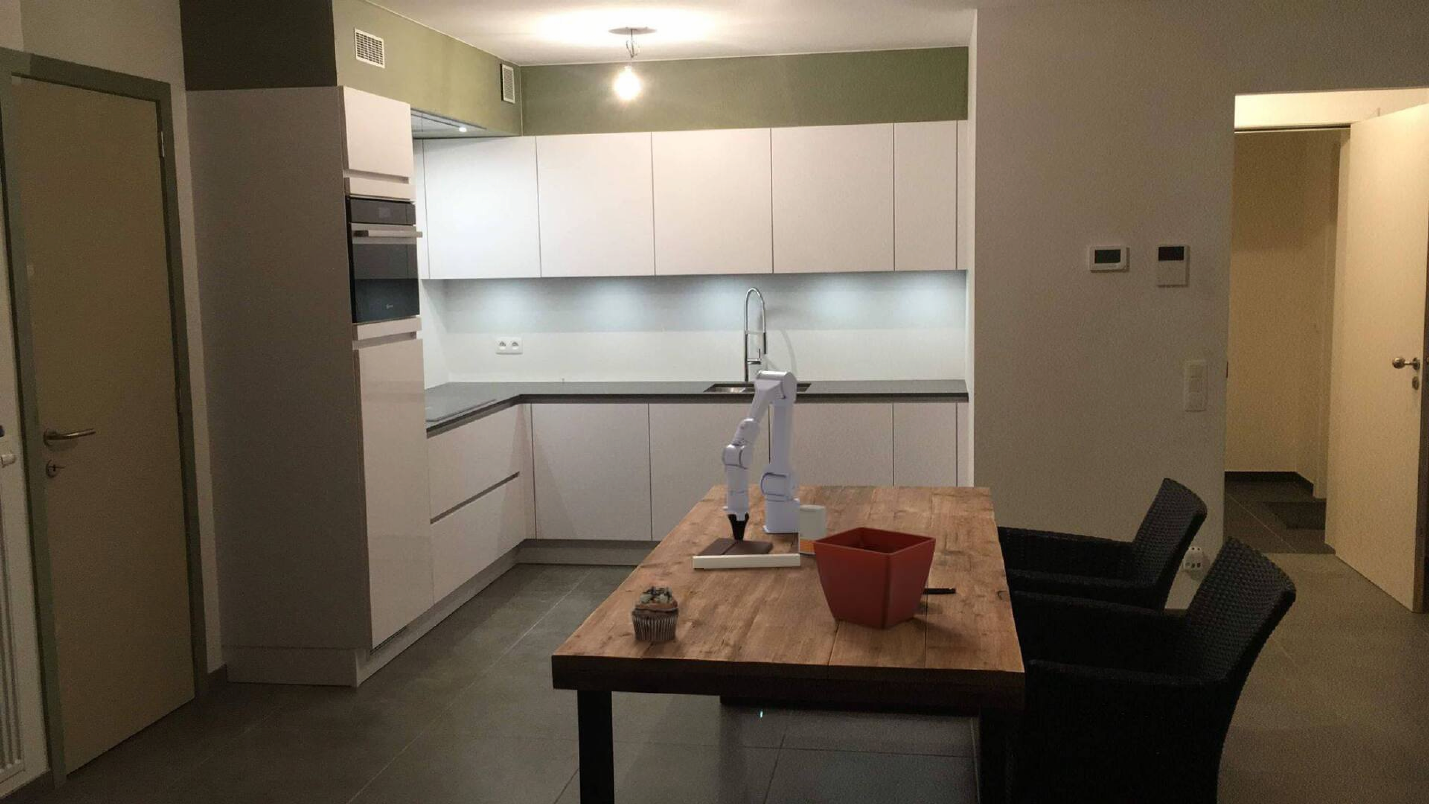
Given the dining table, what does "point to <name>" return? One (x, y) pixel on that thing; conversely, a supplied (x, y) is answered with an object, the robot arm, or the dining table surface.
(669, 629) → the cupcake
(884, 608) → the plant pot
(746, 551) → the notebook
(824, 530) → the skincare box
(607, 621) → the dining table surface
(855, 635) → the dining table surface
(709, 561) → the bar
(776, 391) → the robot arm
